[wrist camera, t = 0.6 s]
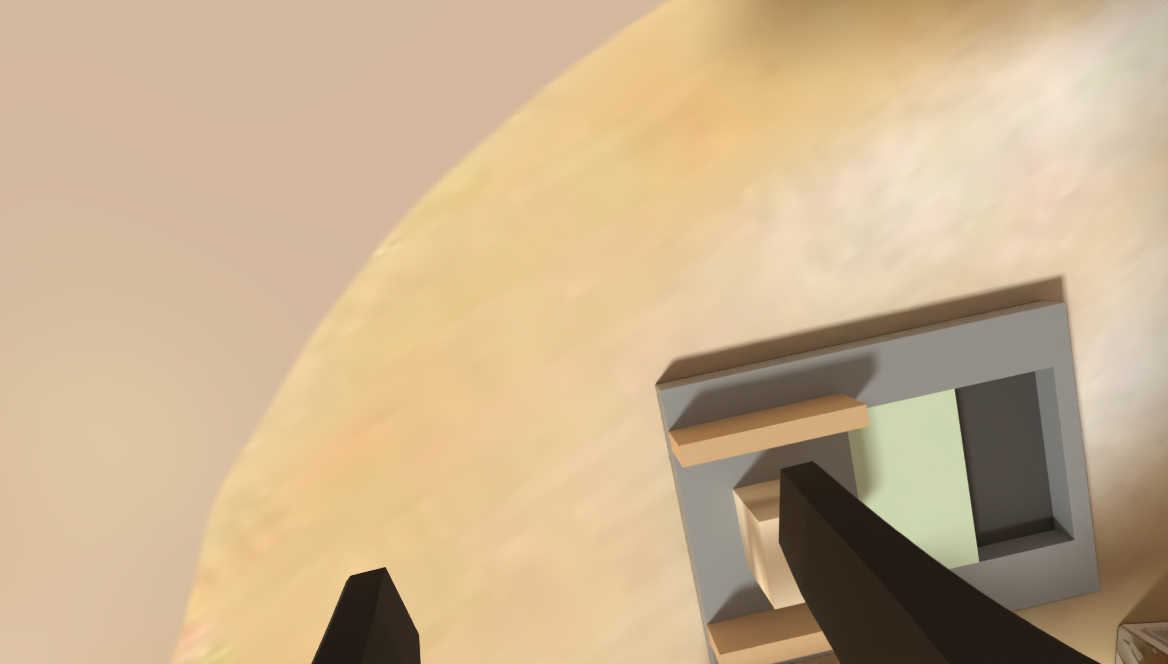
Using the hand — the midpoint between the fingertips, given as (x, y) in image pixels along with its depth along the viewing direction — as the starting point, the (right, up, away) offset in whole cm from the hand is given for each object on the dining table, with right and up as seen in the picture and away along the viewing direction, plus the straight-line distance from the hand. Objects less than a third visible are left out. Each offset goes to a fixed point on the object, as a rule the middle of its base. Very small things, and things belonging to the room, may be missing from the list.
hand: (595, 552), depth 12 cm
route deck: (+15, -4, +22) cm, 27 cm away
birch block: (+9, -5, +20) cm, 23 cm away
